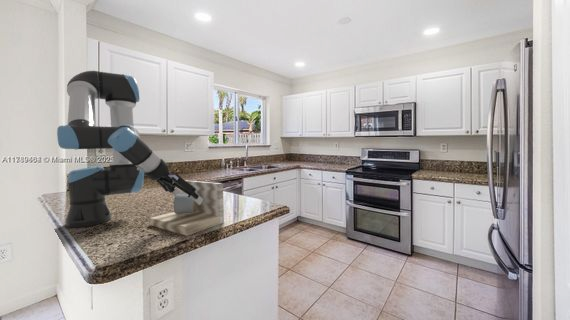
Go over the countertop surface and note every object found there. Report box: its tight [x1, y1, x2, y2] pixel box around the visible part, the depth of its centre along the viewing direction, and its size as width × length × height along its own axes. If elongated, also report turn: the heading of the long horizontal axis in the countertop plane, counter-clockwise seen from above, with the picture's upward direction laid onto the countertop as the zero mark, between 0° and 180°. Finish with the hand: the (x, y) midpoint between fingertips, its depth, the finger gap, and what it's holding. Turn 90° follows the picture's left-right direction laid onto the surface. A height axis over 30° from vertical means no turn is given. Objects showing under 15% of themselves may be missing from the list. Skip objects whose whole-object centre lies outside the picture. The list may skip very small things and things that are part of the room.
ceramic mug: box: [173, 194, 198, 214], centre depth 99 cm, size 11×8×8 cm
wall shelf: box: [148, 179, 225, 237], centre depth 97 cm, size 24×17×16 cm
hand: (192, 201), depth 100 cm, fingers closed on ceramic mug, 10 cm apart
